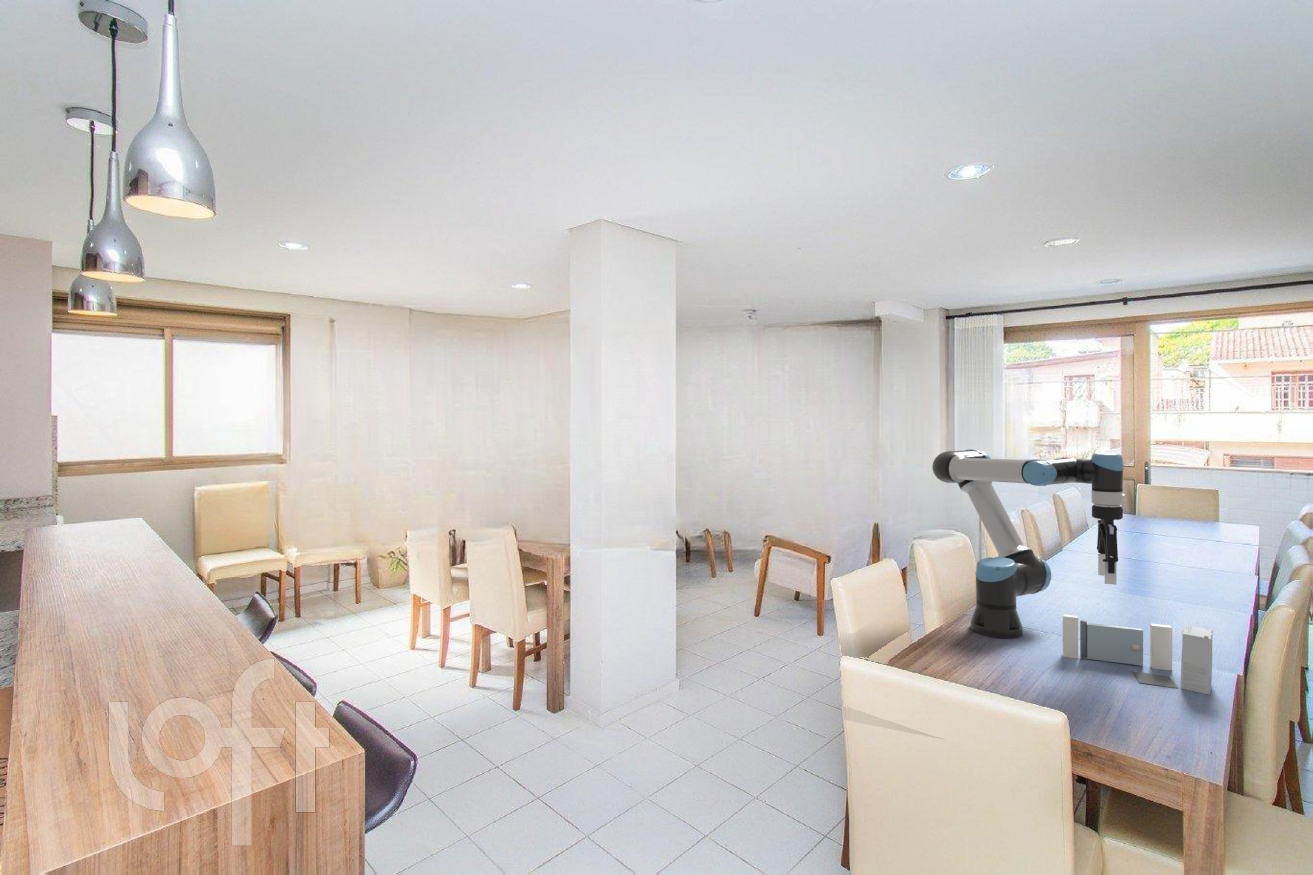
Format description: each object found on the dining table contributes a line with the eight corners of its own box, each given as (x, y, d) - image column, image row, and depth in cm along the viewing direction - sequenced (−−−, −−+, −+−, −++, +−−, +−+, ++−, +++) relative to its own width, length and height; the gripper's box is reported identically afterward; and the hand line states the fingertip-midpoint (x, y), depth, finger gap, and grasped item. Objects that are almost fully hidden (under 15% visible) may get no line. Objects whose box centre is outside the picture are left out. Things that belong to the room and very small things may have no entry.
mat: (1139, 683, 165) (1139, 682, 165) (1132, 671, 172) (1132, 670, 172) (1177, 688, 161) (1177, 687, 161) (1169, 676, 168) (1169, 675, 168)
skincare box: (1182, 678, 167) (1182, 623, 167) (1212, 684, 163) (1213, 628, 162) (1180, 689, 161) (1180, 632, 160) (1211, 695, 157) (1211, 637, 156)
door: (1081, 659, 181) (1081, 623, 180) (1079, 655, 183) (1079, 619, 183) (1144, 667, 174) (1144, 630, 174) (1141, 663, 177) (1141, 626, 176)
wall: (1063, 656, 184) (1063, 616, 183) (1062, 654, 185) (1062, 614, 185) (1172, 670, 172) (1172, 627, 172) (1170, 667, 174) (1170, 625, 173)
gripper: (1131, 511, 174) (1131, 590, 175) (1115, 500, 194) (1114, 571, 195) (1098, 509, 177) (1098, 587, 178) (1085, 499, 197) (1085, 569, 198)
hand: (1107, 579), depth 186 cm, fingers open, 10 cm apart
